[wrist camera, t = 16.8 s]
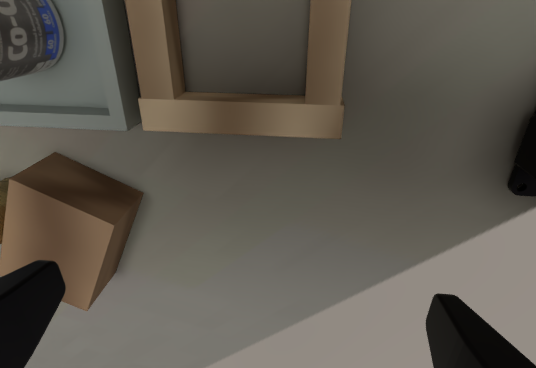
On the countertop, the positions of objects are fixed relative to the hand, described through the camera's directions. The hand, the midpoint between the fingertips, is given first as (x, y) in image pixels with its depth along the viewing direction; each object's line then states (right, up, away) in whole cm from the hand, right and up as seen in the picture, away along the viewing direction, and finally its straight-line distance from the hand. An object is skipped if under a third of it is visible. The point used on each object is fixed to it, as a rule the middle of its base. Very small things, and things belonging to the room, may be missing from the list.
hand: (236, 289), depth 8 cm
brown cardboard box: (-12, 0, +16) cm, 20 cm away
